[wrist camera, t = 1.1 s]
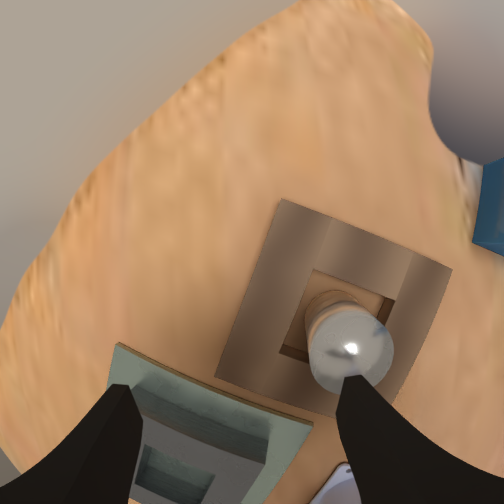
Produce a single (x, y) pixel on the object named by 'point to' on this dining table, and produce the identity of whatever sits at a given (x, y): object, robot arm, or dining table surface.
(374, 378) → the steel peg
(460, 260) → the dining table surface
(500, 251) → the perfume bottle
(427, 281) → the walnut stand
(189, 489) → the metal hub block
